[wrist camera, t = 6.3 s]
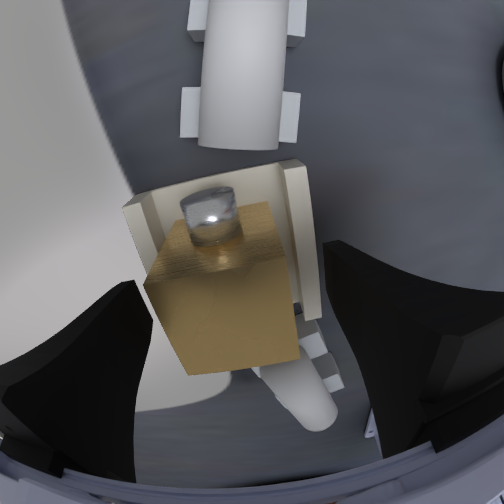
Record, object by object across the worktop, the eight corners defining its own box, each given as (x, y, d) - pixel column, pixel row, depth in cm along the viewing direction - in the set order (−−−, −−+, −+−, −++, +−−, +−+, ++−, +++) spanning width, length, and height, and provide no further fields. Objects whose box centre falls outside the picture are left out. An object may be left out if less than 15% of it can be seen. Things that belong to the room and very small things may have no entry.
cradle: (313, 295, 15) (321, 317, 13) (183, 318, 15) (177, 342, 13) (296, 158, 11) (306, 166, 10) (136, 194, 12) (121, 207, 10)
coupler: (285, 303, 14) (303, 381, 10) (208, 317, 15) (200, 396, 10) (261, 168, 11) (277, 207, 7) (166, 189, 11) (124, 240, 7)
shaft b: (287, 141, 11) (312, 155, 7) (188, 136, 11) (163, 148, 7) (297, 9, 8) (325, -32, 5) (198, 3, 8) (181, -42, 4)
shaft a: (337, 367, 18) (354, 418, 14) (282, 388, 18) (290, 439, 14) (310, 307, 15) (329, 367, 11) (242, 335, 16) (245, 396, 12)
